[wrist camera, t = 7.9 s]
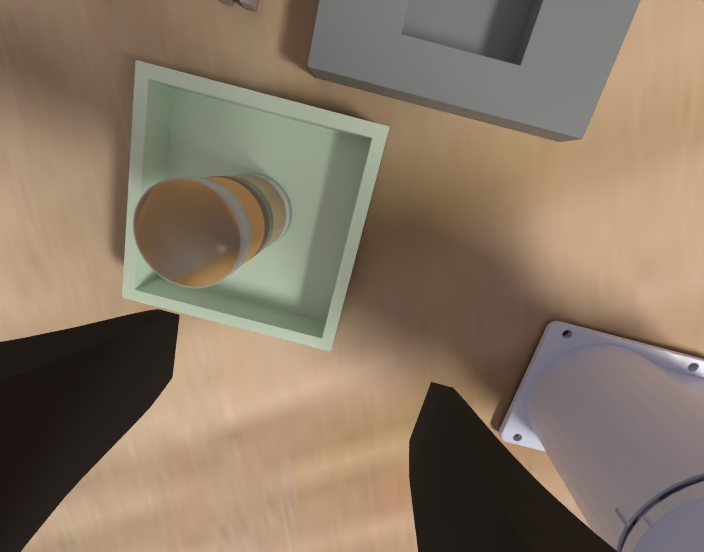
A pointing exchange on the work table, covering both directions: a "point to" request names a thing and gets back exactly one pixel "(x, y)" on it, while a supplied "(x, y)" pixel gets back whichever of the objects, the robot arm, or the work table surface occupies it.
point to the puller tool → (244, 4)
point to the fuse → (208, 225)
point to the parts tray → (270, 160)
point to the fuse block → (478, 56)
